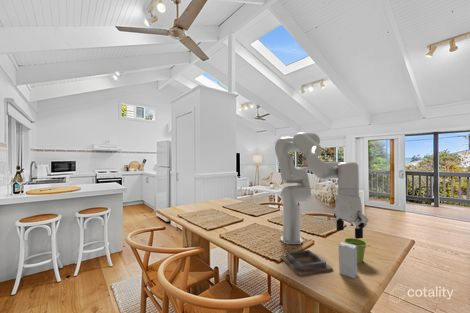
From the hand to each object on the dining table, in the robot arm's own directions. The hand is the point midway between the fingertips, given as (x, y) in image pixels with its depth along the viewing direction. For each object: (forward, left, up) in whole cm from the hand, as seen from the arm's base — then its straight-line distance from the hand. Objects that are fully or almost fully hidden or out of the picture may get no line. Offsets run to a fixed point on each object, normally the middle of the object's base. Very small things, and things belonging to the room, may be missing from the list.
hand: (349, 234), depth 87 cm
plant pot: (-10, +13, -17) cm, 23 cm away
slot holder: (-13, -12, -17) cm, 24 cm away
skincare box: (-1, 0, -17) cm, 17 cm away
